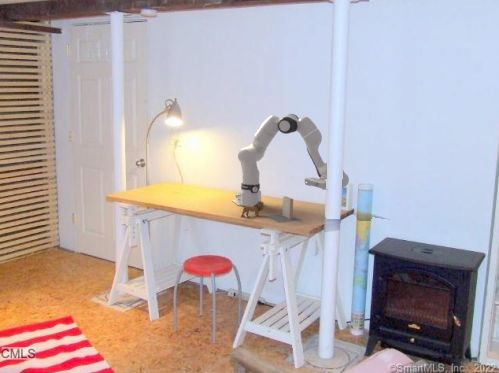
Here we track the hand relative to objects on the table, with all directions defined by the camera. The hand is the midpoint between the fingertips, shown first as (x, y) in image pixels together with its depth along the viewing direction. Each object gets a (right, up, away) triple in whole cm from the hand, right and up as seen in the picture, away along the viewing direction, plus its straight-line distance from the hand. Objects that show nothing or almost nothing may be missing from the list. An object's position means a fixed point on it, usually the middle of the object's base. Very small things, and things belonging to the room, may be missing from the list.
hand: (306, 183), depth 330 cm
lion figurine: (-33, -20, +1) cm, 38 cm away
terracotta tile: (-12, -20, -3) cm, 23 cm away
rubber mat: (-15, -21, -4) cm, 26 cm away
